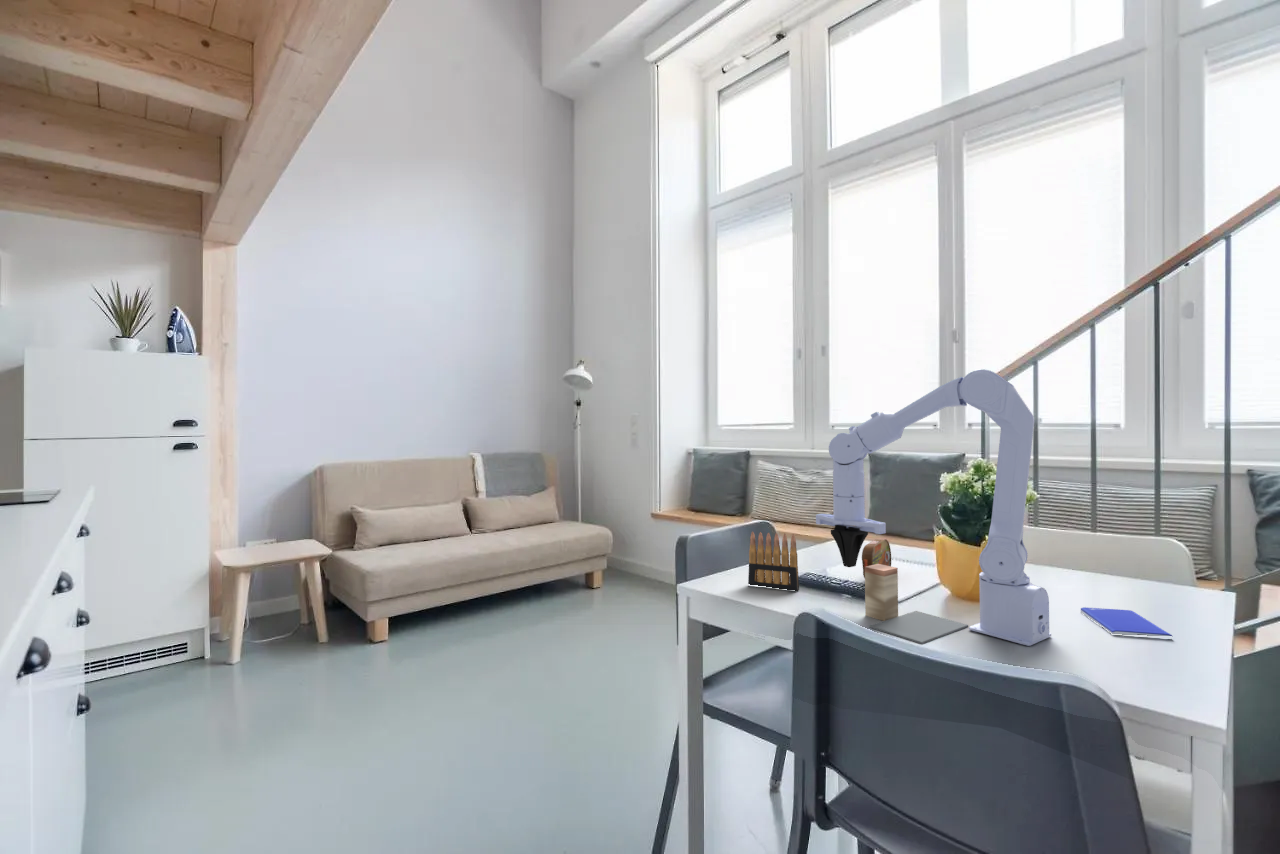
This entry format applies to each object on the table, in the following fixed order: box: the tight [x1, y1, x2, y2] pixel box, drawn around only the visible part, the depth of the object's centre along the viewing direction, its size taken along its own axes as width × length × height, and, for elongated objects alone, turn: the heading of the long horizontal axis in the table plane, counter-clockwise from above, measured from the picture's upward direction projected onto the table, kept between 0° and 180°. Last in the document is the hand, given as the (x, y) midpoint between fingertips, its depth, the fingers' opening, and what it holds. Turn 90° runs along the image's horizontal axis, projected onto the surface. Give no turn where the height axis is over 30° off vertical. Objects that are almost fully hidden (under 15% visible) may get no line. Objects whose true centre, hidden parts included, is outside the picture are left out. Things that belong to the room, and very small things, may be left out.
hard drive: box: [1080, 606, 1173, 637], centre depth 102 cm, size 2×8×12 cm
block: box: [864, 564, 899, 622], centre depth 109 cm, size 4×4×9 cm
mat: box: [869, 610, 969, 645], centre depth 103 cm, size 10×14×1 cm
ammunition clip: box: [747, 531, 800, 592], centre depth 129 cm, size 11×2×12 cm, turn 65°
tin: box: [861, 538, 892, 579], centre depth 136 cm, size 15×3×8 cm, turn 143°
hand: (849, 566), depth 115 cm, fingers closed
